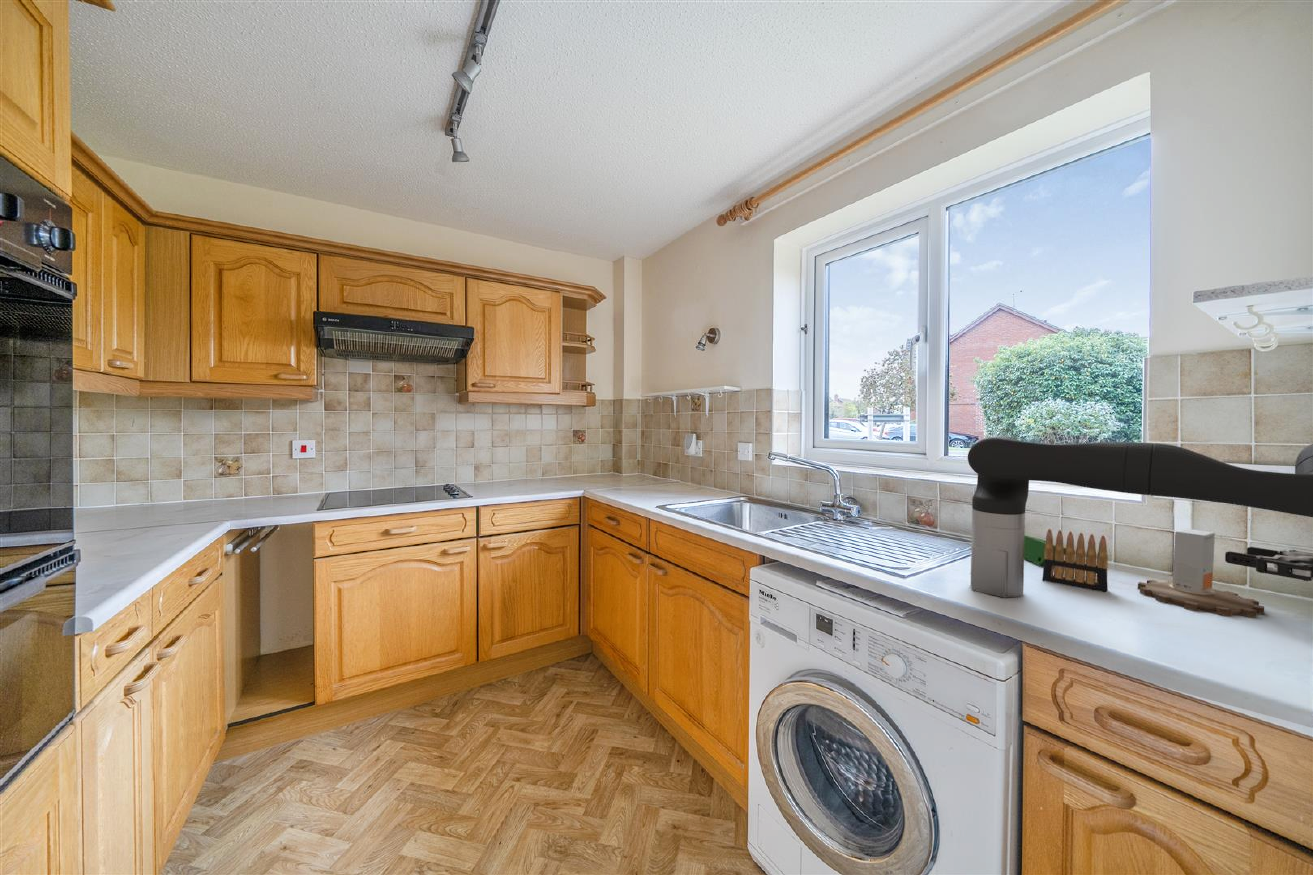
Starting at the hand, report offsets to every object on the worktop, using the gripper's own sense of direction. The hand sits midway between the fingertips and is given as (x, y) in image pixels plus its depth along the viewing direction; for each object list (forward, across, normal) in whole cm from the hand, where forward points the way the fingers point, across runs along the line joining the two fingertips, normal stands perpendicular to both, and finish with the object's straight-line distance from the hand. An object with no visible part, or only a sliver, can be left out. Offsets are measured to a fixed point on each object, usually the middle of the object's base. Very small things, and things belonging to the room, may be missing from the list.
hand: (1237, 554), depth 91 cm
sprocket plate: (+4, +3, +10) cm, 11 cm away
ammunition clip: (+18, +16, +10) cm, 26 cm away
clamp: (+32, +3, +10) cm, 34 cm away
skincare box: (+6, 0, +9) cm, 11 cm away
